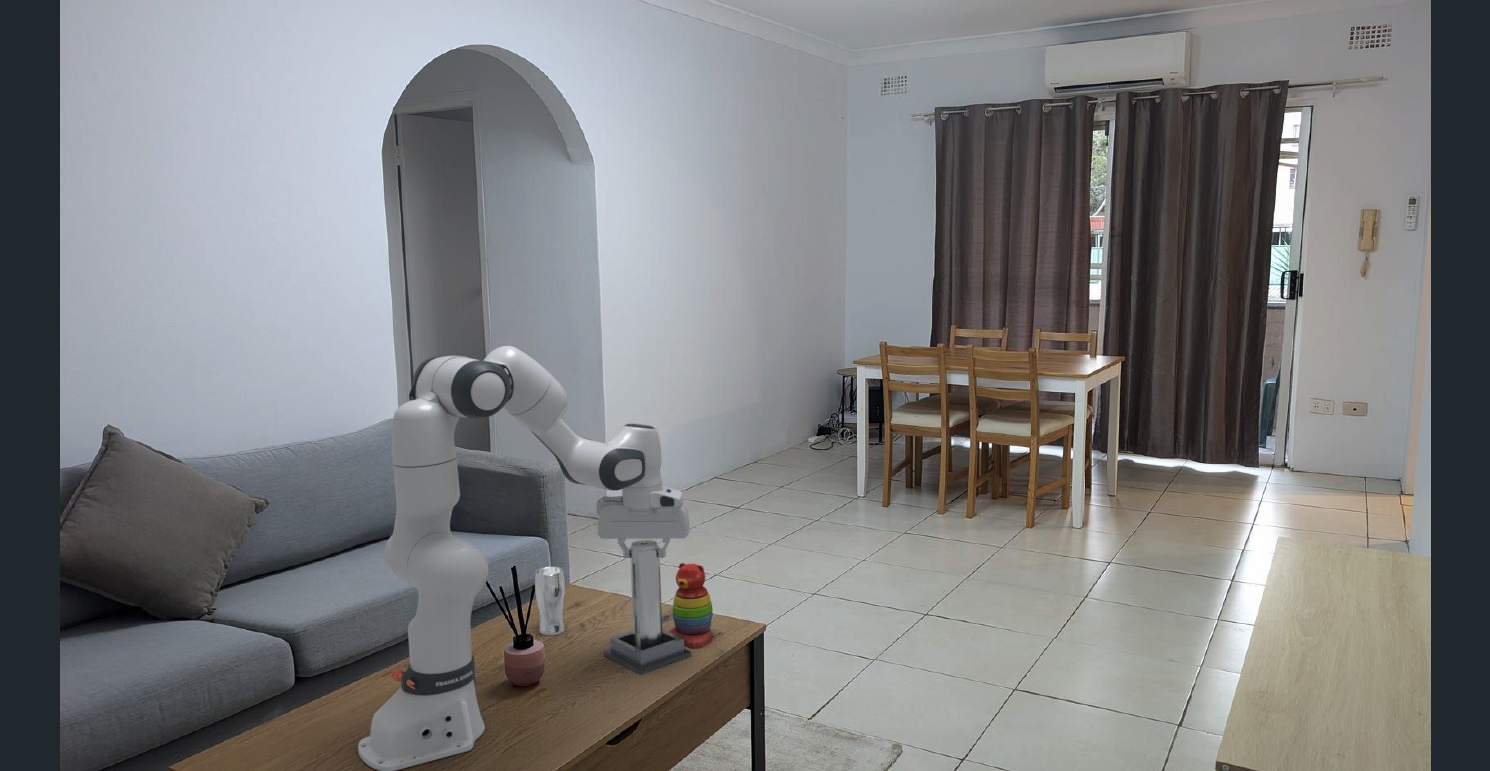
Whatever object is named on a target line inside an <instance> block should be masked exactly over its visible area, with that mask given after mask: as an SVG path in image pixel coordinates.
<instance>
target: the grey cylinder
mask: <svg viewBox="0 0 1490 771" xmlns="http://www.w3.org/2000/svg"><path fill="white" fill-rule="evenodd" d="M629 548H630V558H629V559H630V580H631V582H630V583H631V586H630V587H631V605H632V606H631V608H632V631H633V637H634V647H636V648H638V649H640V650H642V651H643V650H645V649H648V648H651V647H654V646H657V645H660V644H663V635H662V629H663V613H662V609H663V608H662V586H661V585H662V584H661V583H662V582H661V558H658V555H659V554H658V550H659V548H660V545H659V544H658V543H657V541H655V540H654V539H653V540H651V539H639V540H636V541H633V542H631V545H630V546H629Z"/></svg>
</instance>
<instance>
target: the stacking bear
mask: <svg viewBox="0 0 1490 771" xmlns="http://www.w3.org/2000/svg"><path fill="white" fill-rule="evenodd" d="M676 572H677V573H676V574H675V583H676V585H677V587H678V588H677V589H676V591H675V594H674V597H673V604H672V609H671V610H672V617H673V622H674V626H675V627H672V628H671V629H669V630H668V632H670V633H672V634H674V635H676V636H679V637H681V638H683V639H684V646H687V647H688V648H691V649H700V648H702V647H704V646H706V645H708V644H709V643H710V642H711V641H712V639H713V631H712V629H711V626H712V619H713V605H712V604H713V603H712V601H711V596H710V593H709V591H708V589H707V588H706V587H705V586H704V585H705V582H706V573H705V568H704V566H702V565H700V564H696V563H684V562H681V563H680V564H679V565H678V570H677V571H676Z"/></svg>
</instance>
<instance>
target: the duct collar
mask: <svg viewBox="0 0 1490 771" xmlns="http://www.w3.org/2000/svg"><path fill="white" fill-rule="evenodd" d="M668 631H669V630H668ZM668 631H667V630H665V629H663V628H662V635H663V644H660V645H657V646H654V647H651V648H648V649H645V650H643V651H642V650H640V649H638V648H636V647H634V637H633V630H632V631H629V632H625V633H623V634H620V635H617V636H614V637H611V638H609V645H610V648H609V649H606V650H604V651H603V656H605V657H606V658H608V659H610V660H612V661H614V662H616V663H617V664H619V665H621V666H624V667H625V668H627V669H629V670H631V671H633V672H634V673H636V674H638V675H644V674H646V673H648V672H650V671H654V670H657V669H660V668H663V667H665V666H668V665H670V664H673V663H676V662H680V661H682V660H685V659H687V658H690V657H692V651H690V650H688V649H686V648H685V644H684V639H683V638H681V637H679V636H676V635H674V634H672V633H670V632H668Z"/></svg>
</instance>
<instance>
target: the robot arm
mask: <svg viewBox="0 0 1490 771" xmlns="http://www.w3.org/2000/svg"><path fill="white" fill-rule="evenodd" d="M408 399H409V401H407V402H405V403H403V404H401V405H400V406H398V408H397V409H396V410H395V412H394V413H393V414H394V415H393V419H392V430H391V431H392V432H391V459H392V468H393V469H392V470H393V478H394V489H395V500H396V502H395V503H396V504H395V505H396V507H395V508H396V510H395V519H394V520H395V521H394V526H393V531H392V534H391V535H390V537H389V538H388V540H387V542H386V545H385V547H384V560H385V563H386V566H388V568H389V569H390V571H392V573H393V574H394V575H395V576H396V577H397V578H398V579H399V580H400V581H402V582H404V583H406V584H408V585H411V587H414V588H416V590H417V593H418V603H417V608H416V613H415V616H414V617H413V618H412V619H411V620H410V622H409V624H408V626H407V627H408V628H407V635H408V650H409V664H408V667H407V668H406V670H405V671H404V670H402V669H401V668H400V667H396V668H393V669H392V670H391V672H390V676H391V678H392V679H394V680H395V681H396V682H400V684H401V686H400V687H399V689H398V690H397V691H396V692H395V693H394V694H393V695H392V696H391V697H390V698H389V699H388V700H387V701H386V702H385V703H384V704H383V705H381V707H380V708H379V709H377V711H376V712H375V713H374V714H373V716H372V717H373V718H372V720H371V725H370V734H369V735H368V736H366V737H364V738H362V739H360V740H359V741H358V746H357V753H358V756H359V757H360V759H361V760H362V761H363V763H365V764H366V765H368V766H369V767H370V768H372V769H374V770H377V771H398V770H402V769H407V768H410V767H413V766H418V765H421V764H425V763H428V762H432V761H436V760H440V759H443V758H447V757H450V756H455V755H458V754H463V753H466V752H469V751H471V750H472V749H473V748H474V745H475V742H476V740H478V739H479V738H480V737H481V735H482V734H484V731H485V727H486V726H485V722H484V720H483V718H482V714H481V712H480V708H479V703H478V700H477V694H476V688H475V687H476V686H475V684H476V680H477V679H476V675H477V674H476V673H477V672H476V664H475V663H476V662H475V657H474V655H472V635H471V633H472V632H471V631H472V629H471V622H472V620H471V619H472V612H473V606H474V602H475V598H476V596H477V595H478V594H479V593H480V592H481V591H482V589H483V588H484V587H485V585H486V583H487V579H488V576H489V563H488V560H487V558H486V557H485V554H483V553H482V552H481V551H480V550H479V549H478V548H477V547H476V546H475V545H474V544H472V543H471V542H469V541H468V540H465V539H462V538H460V537H457V536H454V535H453V534H452V531H451V527H450V526H451V518H452V512H453V509H454V507H455V506H456V505H458V502H459V500H460V497H461V492H460V481H459V480H460V479H459V470H458V459H457V452H456V450H457V449H456V445H455V444H456V443H455V439H454V438H455V433H456V432H455V431H456V427H457V424H458V422H459V420H460V418H469V419H472V420H479V419H486V418H489V417H491V416H492V417H493V415H495V414H497V413H499V412H500V411H501V409H505V411H506V412H507V413H509V414H510V416H512V417H513V418H514V419H515V420H516V421H518V422H519V423H520V424H521V425H522V426H524V427H526V428H527V429H528V430H529V431H530V433H532V434H533V436H535V437H536V438H537V439H538V440H539V441H540V442H541V444H542V445H544V447H546V448H547V449H548V451H549V452H551V453H552V455H553V456H554V458H555V459H556V461H557V463H558V465H559V467H560V470H561V472H562V474H563V476H564V477H565V478H566V479H567V480H568V481H569V482H571V483H573V484H576V485H583V486H585V485H586V486H590V487H594V488H598V489H603V490H606V491H620V490H621V494H622V495H620V496H619V495H618V496H617V495H615V496H609V495H608V496H607V495H606V496H602V497H601V498H598V500H596V504H595V507H596V513H597V515H598V521H597V535H598V537H599V538H600V539H603V540H604V539H607V540H608V539H609V540H610V539H614V540H615V539H616V540H617V544H618V546H619V548H620V549H621V550H622V555H623V558H624V559H630V547H628V546H627V545H626V543H625V542H626V539H639V540H651V539H653V540H654V539H658V540H659V539H662V544H664V545H663V547H659V550H658V554H659V555H658V558H660V559H663V558H666V555H667V547H668V546H669V544H670V542H671V539H686V538H688V536H689V534H690V531H691V525H690V517H689V512H688V508H687V506H686V504H684V503H683V501H684V493H683V492H682V490H678V489H676V488H671V487H668V486H665V485H663V478H662V476H661V467H662V463H663V462H662V460H663V459H662V447H661V446H662V445H661V440H660V435H659V432H658V430H657V429H656V428H655V427H654V426H653V425H649V424H648V425H647V424H640V423H626V424H624V425H623V426H622V429H621V431H620V432H619V433H617V435H616V436H615V437H613V438H612V439H610V440H609V441H607V442H601V441H596V440H593V439H590V438H586V437H581V436H580V435H577V434H576V433H575V432H574V431H573V430H572V429H571V428H570V427H569V425H567V423H566V422H565V421H564V420H563V419H562V418H563V417H564V416H565V414H566V411H567V408H568V402H569V401H568V394H567V392H566V391H565V389H564V387H563V386H562V384H561V383H560V382H559V381H558V380H557V379H556V378H555V377H554V376H553V375H552V374H551V373H550V372H549V371H548V370H547V369H546V368H545V367H544V366H543V365H541V363H539V362H538V361H536V360H535V359H534V358H532V357H531V356H530V355H528V354H527V353H525V352H524V351H522V350H521V349H519V348H517V347H515V346H512V345H503V346H499V347H497V348H495V349H493V350H492V351H491V352H489V353H488V354H487V355H486V357H484V359H483V360H480V359H476V358H471V357H468V356H463V355H447V354H440V355H435V356H431V357H429V358H427V359H425V360H424V361H422V362H421V363H419V365H418V367H417V368H416V370H415V372H414V375H413V378H412V384H411V388H410V391H409V394H408Z"/></svg>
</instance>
